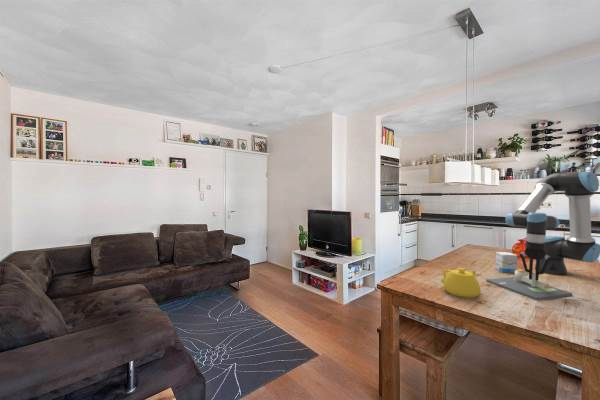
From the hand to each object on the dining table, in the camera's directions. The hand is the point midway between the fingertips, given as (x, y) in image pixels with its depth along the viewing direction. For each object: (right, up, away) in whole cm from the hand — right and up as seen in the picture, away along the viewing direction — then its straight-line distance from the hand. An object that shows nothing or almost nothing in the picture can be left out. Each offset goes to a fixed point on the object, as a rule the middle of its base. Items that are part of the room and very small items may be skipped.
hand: (533, 285), depth 136 cm
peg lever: (+3, -1, +4) cm, 4 cm away
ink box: (+12, -1, +33) cm, 36 cm away
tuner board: (0, -3, +4) cm, 5 cm away
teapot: (-38, -3, 0) cm, 39 cm away
